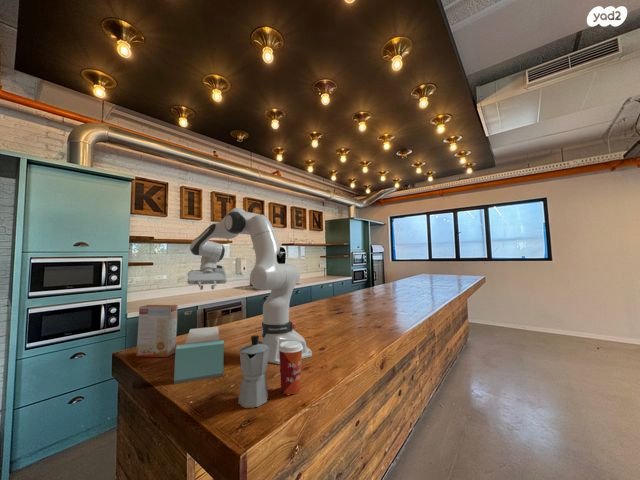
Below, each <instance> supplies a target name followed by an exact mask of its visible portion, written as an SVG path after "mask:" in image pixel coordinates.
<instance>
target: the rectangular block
mask: <svg viewBox="0 0 640 480" xmlns="http://www.w3.org/2000/svg"><path fill="white" fill-rule="evenodd" d="M224 353H225V341H224V339H222V340H219V341H212V342H204V343H195V344H186V345H185V344H176V351H175V353H174V354H175V355H174V356H175V357H174V372H173V376H174V378H173V385H175V384H182V383H189V382H194V381H199V380H206V379H212V378H218V377H219V378H220V377H223V376H224V359H225V358H224V356H225V354H224Z"/></svg>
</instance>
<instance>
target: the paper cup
mask: <svg viewBox="0 0 640 480" xmlns="http://www.w3.org/2000/svg"><path fill="white" fill-rule="evenodd" d="M302 349H303V346H302V344H301V343H300V342H298V341H285V342H282V343H281V344H280V347H279V348H278V350H279V351H280V364H279V369H280V370H279V371H280V389H281V390H280V391H282V392H281V394H283V393H284V394H294V393H296V392H298V391H299V392H300V387H301V373H302V359H301V358H302ZM299 392H298V393H299ZM284 394H283V395H284Z"/></svg>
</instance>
